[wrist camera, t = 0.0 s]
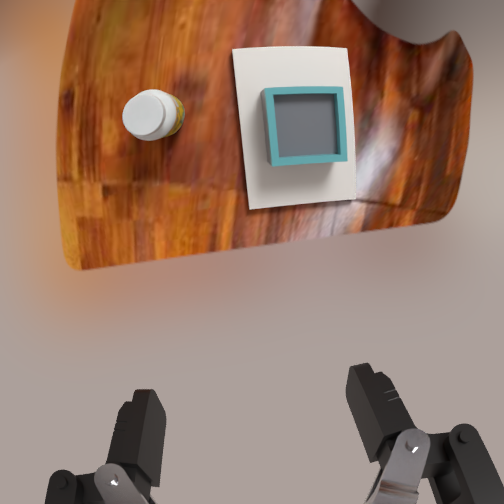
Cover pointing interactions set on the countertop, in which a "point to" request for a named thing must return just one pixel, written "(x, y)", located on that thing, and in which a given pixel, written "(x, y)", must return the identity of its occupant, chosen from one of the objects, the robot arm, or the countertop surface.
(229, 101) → the countertop surface
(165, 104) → the supplement bottle
